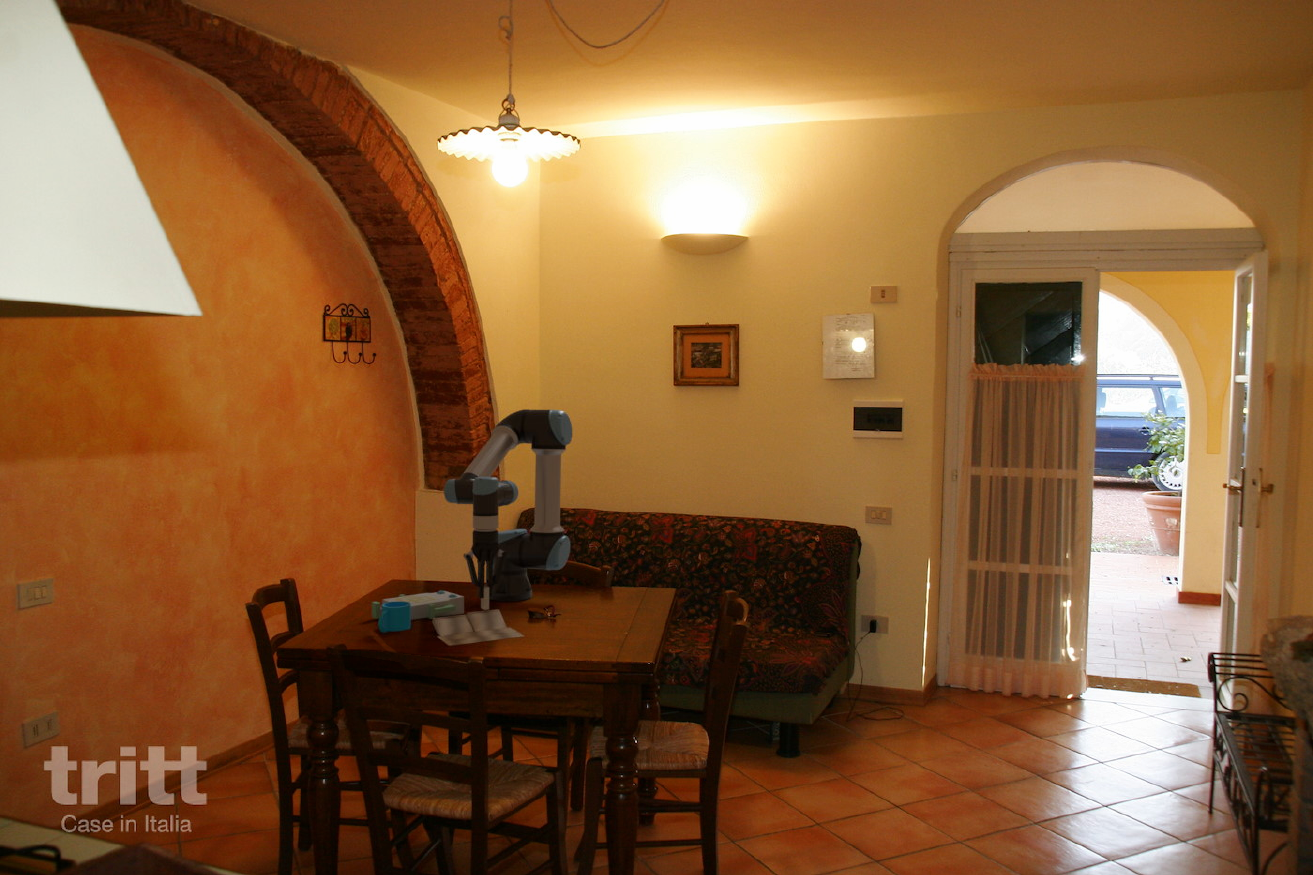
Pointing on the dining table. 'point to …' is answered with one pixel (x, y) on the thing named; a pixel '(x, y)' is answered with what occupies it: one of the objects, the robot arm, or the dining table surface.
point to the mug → (395, 616)
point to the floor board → (479, 636)
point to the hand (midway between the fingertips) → (485, 608)
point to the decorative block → (427, 605)
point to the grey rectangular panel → (486, 620)
